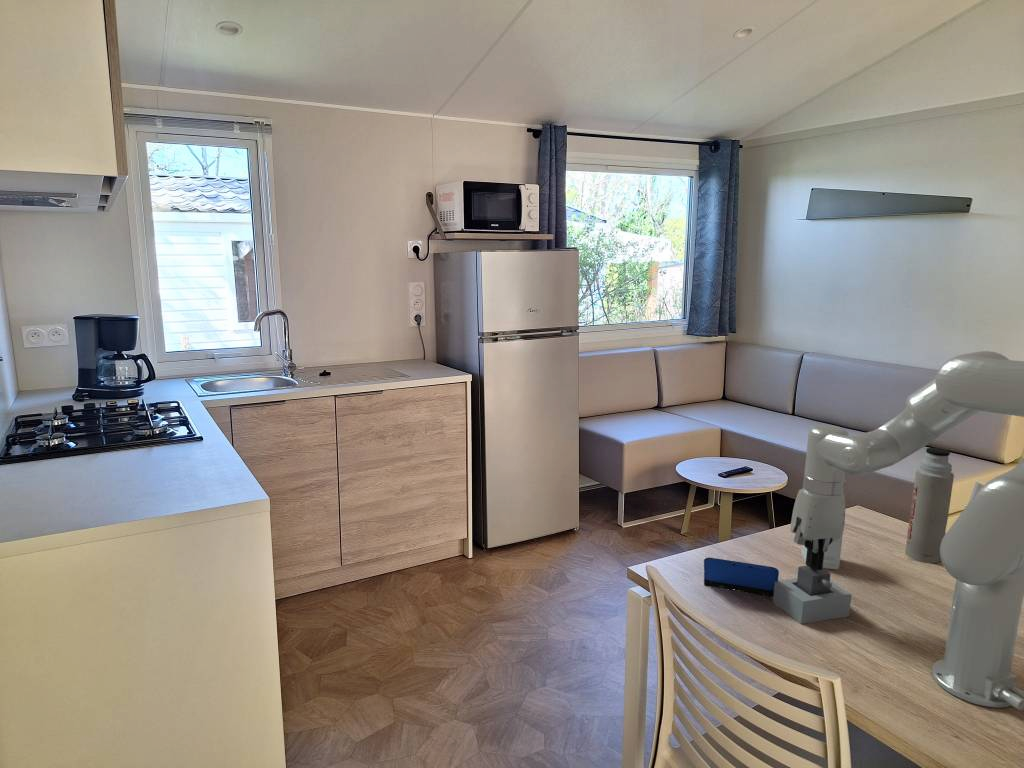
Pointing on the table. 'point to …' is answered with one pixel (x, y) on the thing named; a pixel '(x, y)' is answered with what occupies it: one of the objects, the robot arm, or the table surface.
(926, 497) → the thermos bottle
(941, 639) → the table surface
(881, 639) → the table surface
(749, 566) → the handheld game console
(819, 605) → the socket
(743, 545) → the table surface
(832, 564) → the supplement box
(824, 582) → the plug
